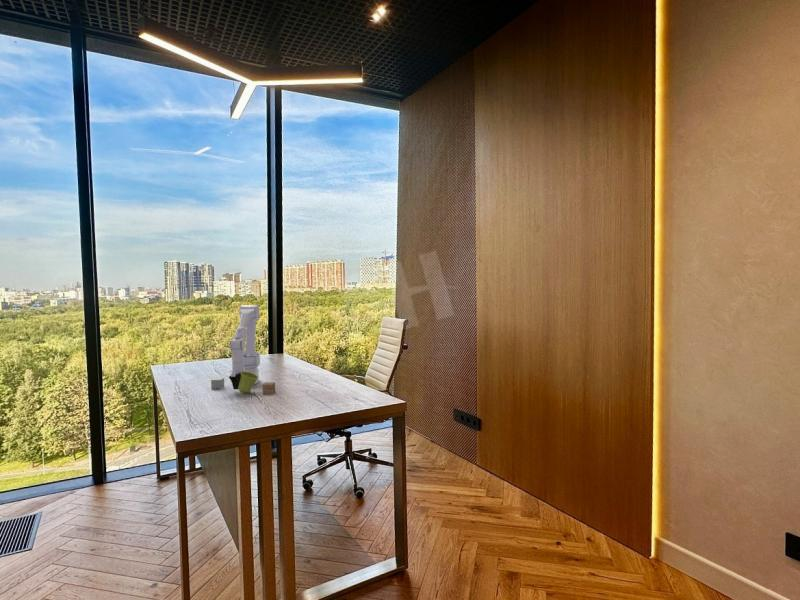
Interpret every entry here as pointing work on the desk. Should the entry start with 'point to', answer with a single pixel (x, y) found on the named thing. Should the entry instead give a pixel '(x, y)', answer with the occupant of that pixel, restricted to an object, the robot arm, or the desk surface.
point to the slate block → (217, 383)
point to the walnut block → (269, 387)
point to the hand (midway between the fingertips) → (238, 387)
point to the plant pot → (247, 381)
